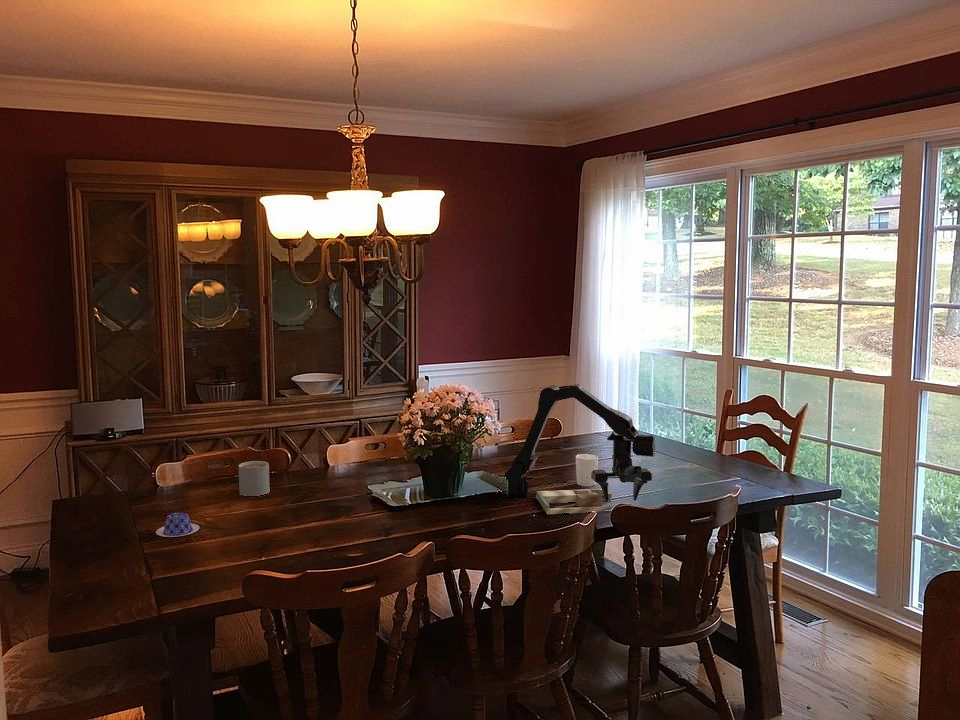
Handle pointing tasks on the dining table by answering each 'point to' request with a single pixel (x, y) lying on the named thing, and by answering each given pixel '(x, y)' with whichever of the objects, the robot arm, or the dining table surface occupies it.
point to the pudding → (177, 525)
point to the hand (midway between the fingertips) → (620, 501)
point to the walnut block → (589, 500)
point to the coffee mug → (254, 478)
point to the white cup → (586, 469)
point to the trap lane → (569, 500)
